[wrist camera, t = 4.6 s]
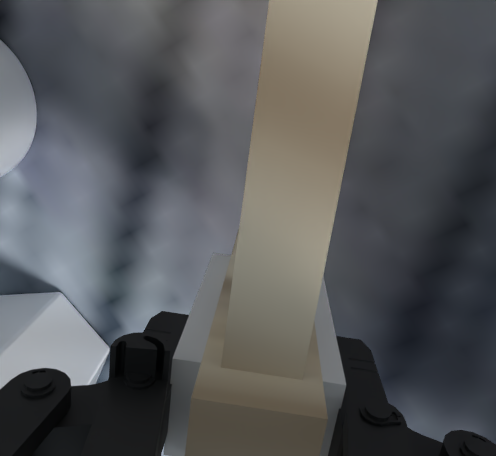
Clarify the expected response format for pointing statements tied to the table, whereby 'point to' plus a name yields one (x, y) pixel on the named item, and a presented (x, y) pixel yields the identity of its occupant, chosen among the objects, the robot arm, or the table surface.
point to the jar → (48, 338)
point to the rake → (283, 238)
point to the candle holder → (15, 111)
